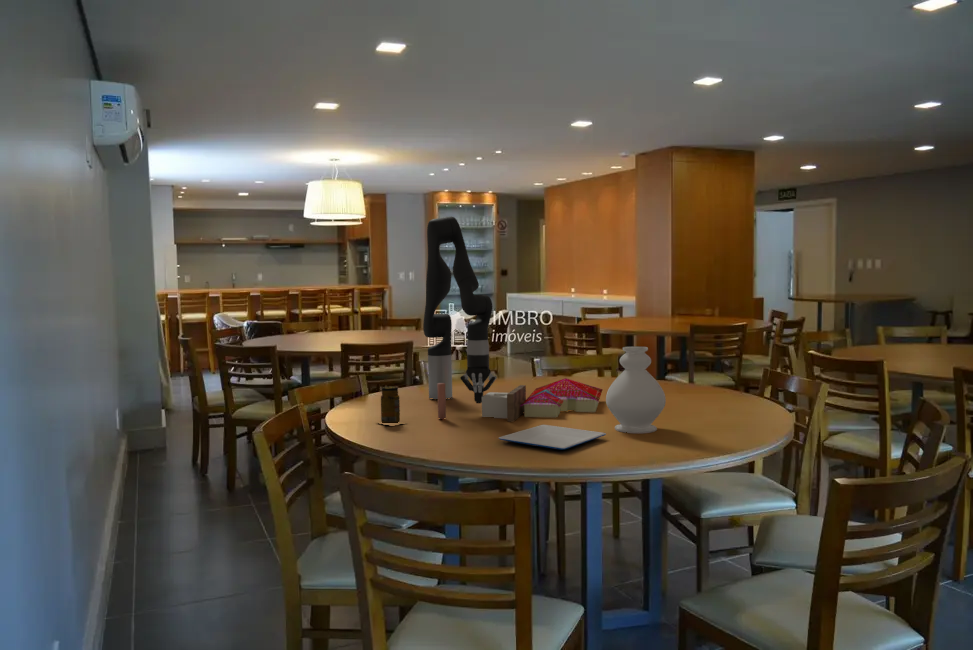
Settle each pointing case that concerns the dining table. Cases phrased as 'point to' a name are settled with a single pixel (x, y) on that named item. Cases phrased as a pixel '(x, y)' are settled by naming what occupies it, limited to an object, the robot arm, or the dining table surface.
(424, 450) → the dining table surface
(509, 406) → the wall
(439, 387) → the dowel
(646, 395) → the decorative vase
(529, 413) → the house model
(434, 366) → the robot arm
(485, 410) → the block
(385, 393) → the condiment
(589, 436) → the plate
